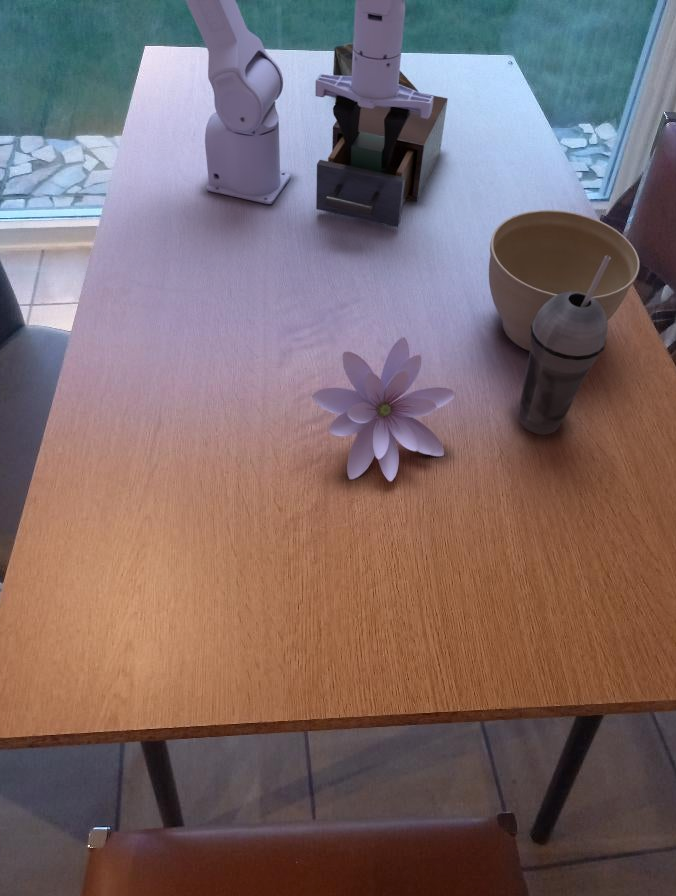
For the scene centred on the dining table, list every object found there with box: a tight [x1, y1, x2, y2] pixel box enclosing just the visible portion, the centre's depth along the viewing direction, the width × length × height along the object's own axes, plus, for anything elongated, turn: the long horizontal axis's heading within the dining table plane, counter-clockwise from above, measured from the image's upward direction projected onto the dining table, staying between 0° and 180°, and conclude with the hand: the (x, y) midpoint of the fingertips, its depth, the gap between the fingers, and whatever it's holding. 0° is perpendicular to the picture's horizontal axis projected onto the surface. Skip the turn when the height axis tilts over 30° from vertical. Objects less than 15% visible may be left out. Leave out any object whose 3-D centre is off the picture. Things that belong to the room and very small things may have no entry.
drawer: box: [315, 136, 418, 228], centre depth 103 cm, size 18×11×6 cm, turn 164°
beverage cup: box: [518, 256, 610, 435], centre depth 75 cm, size 7×7×20 cm
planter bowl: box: [488, 209, 640, 352], centre depth 88 cm, size 16×16×11 cm
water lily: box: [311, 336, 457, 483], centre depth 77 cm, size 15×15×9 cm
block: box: [351, 132, 386, 173], centre depth 101 cm, size 4×4×4 cm
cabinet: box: [331, 93, 448, 203], centre depth 110 cm, size 15×13×8 cm
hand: (369, 161), depth 101 cm, fingers closed on block, 4 cm apart
